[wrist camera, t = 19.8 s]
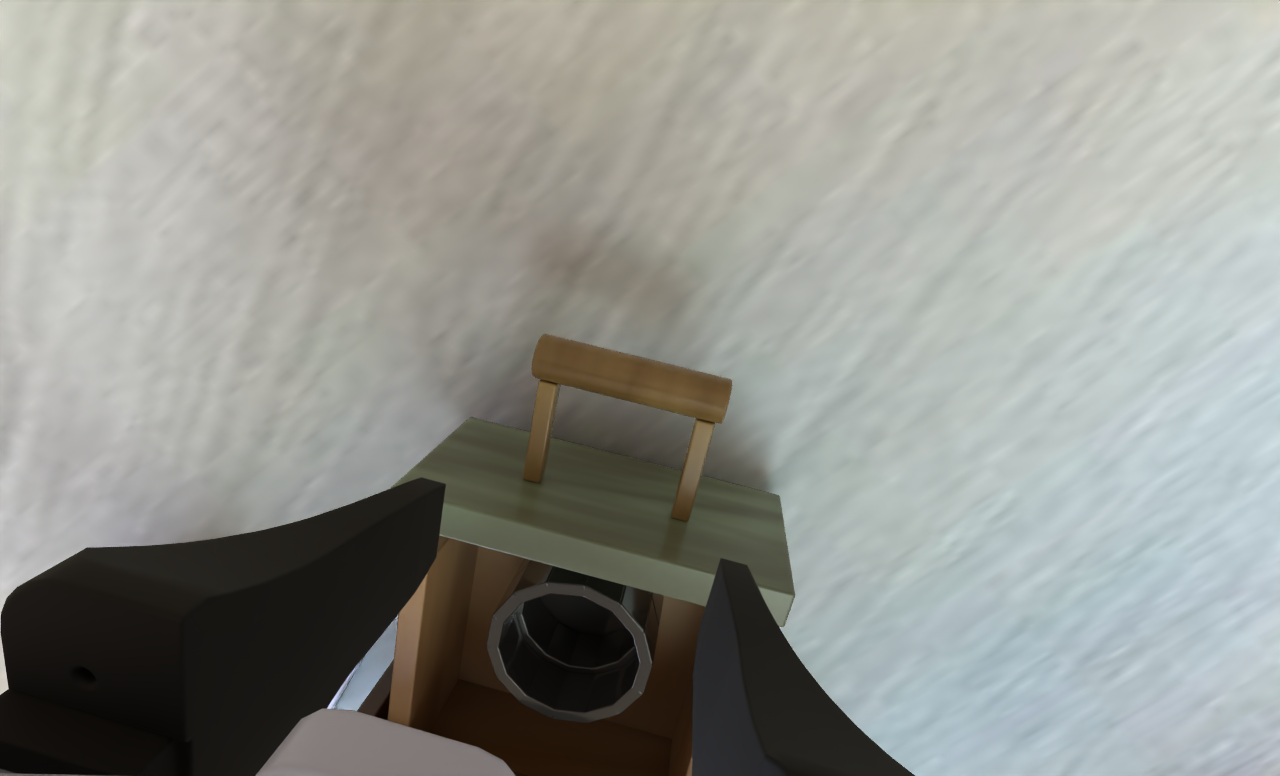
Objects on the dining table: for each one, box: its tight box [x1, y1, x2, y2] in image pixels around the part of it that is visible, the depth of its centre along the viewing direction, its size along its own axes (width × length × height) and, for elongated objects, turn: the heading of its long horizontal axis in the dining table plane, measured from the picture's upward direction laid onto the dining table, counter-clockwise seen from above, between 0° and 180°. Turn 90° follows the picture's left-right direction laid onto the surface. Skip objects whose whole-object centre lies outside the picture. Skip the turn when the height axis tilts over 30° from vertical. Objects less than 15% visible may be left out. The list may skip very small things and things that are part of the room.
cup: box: [486, 558, 664, 723], centre depth 23 cm, size 6×6×4 cm
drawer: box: [388, 334, 795, 776], centre depth 23 cm, size 17×12×6 cm
